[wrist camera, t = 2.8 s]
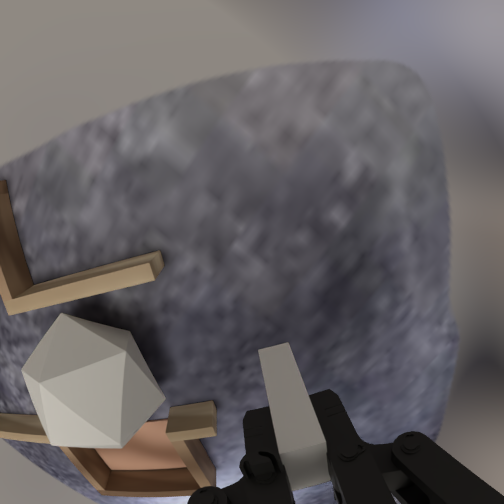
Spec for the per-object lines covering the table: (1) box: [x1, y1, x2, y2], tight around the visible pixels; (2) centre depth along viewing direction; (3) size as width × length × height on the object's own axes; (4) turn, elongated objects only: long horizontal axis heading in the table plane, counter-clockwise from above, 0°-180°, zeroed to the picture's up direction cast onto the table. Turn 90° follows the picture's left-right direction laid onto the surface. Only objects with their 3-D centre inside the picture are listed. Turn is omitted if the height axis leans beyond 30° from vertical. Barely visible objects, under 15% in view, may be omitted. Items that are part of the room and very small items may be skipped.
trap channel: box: [0, 180, 217, 497], centre depth 18 cm, size 29×26×3 cm
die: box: [21, 313, 166, 448], centre depth 16 cm, size 8×9×10 cm
